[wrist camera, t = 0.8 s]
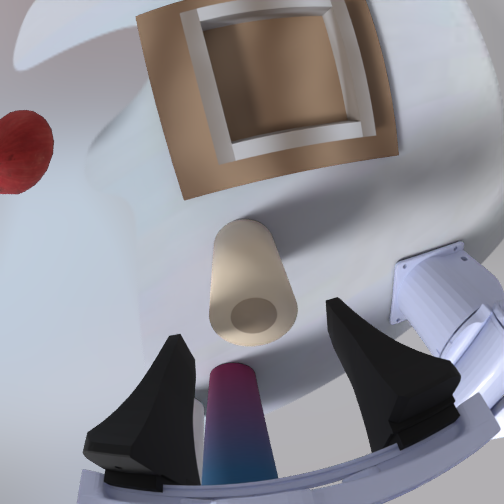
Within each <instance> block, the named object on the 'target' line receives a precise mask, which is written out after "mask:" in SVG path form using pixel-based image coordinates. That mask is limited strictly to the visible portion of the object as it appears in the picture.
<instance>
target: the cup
mask: <svg viewBox="0 0 504 504" xmlns="http://www.w3.org/2000/svg"><path fill="white" fill-rule="evenodd" d="M272 479H278V474H277V471H276V466H275V462H274V458H273V453H272V449H271V444H270V440H269V436H268V431H267V427H266V422H265V418H264V413H263V408H262V404H261V399H260V395H259V390H258V385H257V380H256V376H255V372H254V371H253V369H252V368H250V367H249V366H247V365H244V364H240V363H226V364H222V365H219V366H217V367H215V368H214V369H213V370H212V371H211V373H210V380H209V391H208V402H207V413H206V425H205V438H204V452H203V467H202V483H201V486H204V485H227V484H240V483H249V482H258V481H265V480H272ZM212 501H214V500H212Z"/></svg>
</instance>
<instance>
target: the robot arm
mask: <svg viewBox="0 0 504 504" xmlns="http://www.w3.org/2000/svg"><path fill="white" fill-rule="evenodd" d="M463 249H464V243H463V242H462V241H459V242H456V243H453V244H450V245H448V246H445V247H442V248H439V249H436V250H433V251H430V252H427V253H424V254H421V255H418V256H415V257H412V258H409V259H406V260H402V261H399V262H398V263H397V264H396V265H395V274H394V286H393V297H392V306H391V314H390V323H391V324H392V325H394V324H397V323H399V322H402V321H404V320H408V321H409V322H410V324H411V325H412V327H413V328H414V329H415V331H416V332H417V333H418V335H419V336H420V338H421V339H422V341H423V342H424V343H425V345H426V346H427V348H428V349H429V351H430V352H431V354H432V355H433V356H431V355H428V354H425V353H422V352H419V351H417V350H415V349H412V348H410V347H408V346H405V345H403V344H401V343H399V342H397V341H395V340H394V339H392V338H390V337H388V336H387V335H385V334H384V333H382V332H381V331H379V330H378V329H376V328H375V327H373V326H372V325H371V324H369V323H368V322H367V321H365V320H364V319H363V318H361V317H360V316H359V315H358V314H357V313H355V312H354V311H353V310H352V309H351V308H350V307H348V306H347V305H346V304H345V303H344V302H343V301H342V300H341V299H340V298H338V297H337V298H333V299H330V300H326V312H327V326H328V332H329V335H330V338H331V341H332V344H333V347H334V349H335V351H336V353H337V355H338V357H339V359H340V361H341V363H342V365H343V367H344V369H345V371H346V374H347V376H348V378H349V380H350V382H351V384H352V386H353V389H354V392H355V395H356V398H357V401H358V404H359V407H360V410H361V414H362V417H363V420H364V424H365V427H366V431H367V435H368V439H369V443H370V447H371V451H372V453H371V454H368V455H365V456H362V457H360V458H357V459H354V460H351V461H348V462H345V463H341V464H338V465H335V466H331V467H328V468H324V469H320V470H316V471H312V472H308V473H303V474H299V475H294V476H289V477H283V478H278V479H272V480H265V481H258V482H249V483H240V484H227V485H204V486H201V482H200V477H199V472H198V467H197V460H196V453H195V444H194V432H193V408H194V395H195V383H196V369H195V359H194V357H193V356H192V354H191V352H190V350H189V349H188V347H187V345H186V343H185V341H184V340H183V338H182V336H181V334H177V335H171V336H169V337H168V339H167V340H166V342H165V344H164V345H163V347H162V349H161V351H160V352H159V354H158V356H157V357H156V359H155V361H154V362H153V364H152V366H151V367H150V369H149V370H148V372H147V373H146V375H145V376H144V378H143V379H142V381H141V382H140V383H139V385H138V386H137V387H136V389H135V390H134V391H133V392H132V394H131V395H130V396H129V397H128V398H127V399H126V400H125V401H124V402H123V404H121V406H120V407H119V408H118V409H117V410H116V411H114V412H113V413H112V414H111V415H110V416H109V417H108V418H106V419H105V420H104V421H103V422H101V423H100V424H99V425H97V426H96V427H95V428H93V429H92V430H90V431H89V432H88V433H87V437H86V440H85V445H84V449H83V454H84V456H85V457H86V458H87V459H89V460H90V461H92V462H93V463H95V464H96V465H98V466H100V467H102V468H103V469H105V474H102V473H99V472H95V471H90V470H86V469H83V470H82V475H81V480H80V486H79V492H78V499H77V504H383V503H385V502H387V501H390V500H392V499H395V498H397V497H399V496H401V495H403V494H406V493H408V492H410V491H412V490H414V489H416V488H418V487H420V486H422V485H423V484H425V483H427V482H429V481H431V480H433V479H434V478H436V477H438V476H440V475H441V474H443V473H445V472H446V471H448V470H450V469H451V468H453V467H454V466H456V465H457V464H459V463H460V462H462V461H463V460H465V459H466V458H468V457H469V456H471V455H472V454H474V453H475V452H476V451H478V450H479V449H480V448H481V447H483V446H484V445H485V444H486V443H487V442H489V441H490V440H491V439H496V438H503V437H504V396H503V395H504V291H503V289H502V286H501V284H500V283H499V281H498V280H497V278H496V277H495V276H494V275H493V274H492V273H491V272H489V271H488V270H487V269H486V268H485V267H483V266H482V265H481V264H480V263H479V262H477V261H476V260H475V259H474V258H472V257H471V256H470V255H469V254H467V253H466V252H465V251H463ZM404 265H405V266H404ZM502 396H503V397H502ZM501 397H502V398H501ZM500 398H501V399H500ZM339 480H343V481H342V483H341V484H337V485H332V486H328V487H323V488H318V489H312V490H310V489H309V488H313V487H318V486H321V485H325V484H329V483H333V482H336V481H339ZM305 489H306V490H305ZM212 500H214V501H212Z"/></svg>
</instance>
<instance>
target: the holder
mask: <svg viewBox="0 0 504 504" xmlns="http://www.w3.org/2000/svg"><path fill="white" fill-rule="evenodd" d="M136 21H137V26H138V31H139V36H140V40H141V45H142V49H143V54H144V58H145V62H146V67H147V71H148V75H149V79H150V83H151V87H152V91H153V95H154V99H155V102H156V106H157V110H158V114H159V117H160V121H161V125H162V128H163V132H164V135H165V139H166V142H167V146H168V149H169V153H170V156H171V159H172V163H173V166H174V169H175V173H176V176H177V179H178V182H179V186H180V189H181V192H182V195H183V198H184V200H188V199H191V198H195V197H199V196H202V195H206V194H209V193H213V192H217V191H221V190H225V189H228V188H232V187H236V186H240V185H244V184H249V183H253V182H257V181H261V180H266V179H270V178H274V177H279V176H283V175H288V174H293V173H298V172H302V171H307V170H312V169H318V168H323V167H328V166H334V165H339V164H345V163H351V162H357V161H363V160H369V159H376V158H383V157H390V156H397V155H399V152H398V141H397V132H396V124H395V117H394V110H393V104H392V98H391V92H390V87H389V82H388V77H387V72H386V68H385V63H384V59H383V55H382V51H381V47H380V43H379V40H378V36H377V33H376V29H375V26H374V23H373V20H372V17H371V14H370V11H369V8H368V5H367V2H366V0H183V1H180V2H176V3H173V4H170V5H166V6H163V7H160V8H157V9H154V10H152V11H149V12H146V13H143V14H141V15H138V16H136Z"/></svg>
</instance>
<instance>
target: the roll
mask: <svg viewBox="0 0 504 504" xmlns="http://www.w3.org/2000/svg"><path fill="white" fill-rule="evenodd" d="M297 312H298V308H297V302H296V299H295V297H294V294H293V291H292V288H291V286H290V283H289V280H288V277H287V275H286V272H285V269H284V267H283V264H282V261H281V258H280V256H279V253H278V250H277V248H276V245H275V242H274V240H273V237H272V235H271V233H270V231H269V230H268V229H267V228H266V227H265V226H264V225H262V224H261V223H259V222H257V221H254V220H250V219H240V220H235V221H232V222H230V223H228V224H227V225H225V226H224V227H223V228H222V229H221V230H220V231H219V232H218V234H217V236H216V238H215V241H214V249H213V262H212V276H211V292H210V309H209V319H210V323H211V326H212V328H213V329H214V331H215V332H216V333H217V334H218V335H219V336H220V337H221V338H223V339H224V340H226V341H228V342H230V343H233V344H236V345H240V346H260V345H265V344H268V343H271V342H273V341H275V340H277V339H279V338H281V337H282V336H283V335H285V334H286V333H287V332H288V331H289V330H290V329H291V327H292V326H293V324H294V322H295V320H296V317H297Z"/></svg>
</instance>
